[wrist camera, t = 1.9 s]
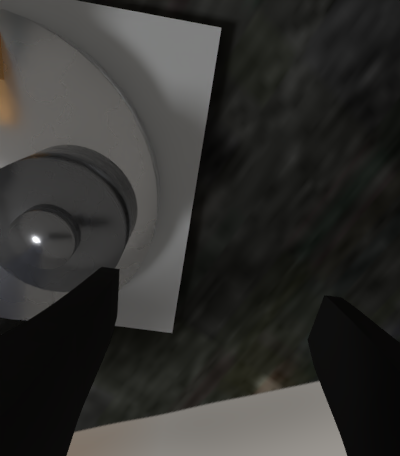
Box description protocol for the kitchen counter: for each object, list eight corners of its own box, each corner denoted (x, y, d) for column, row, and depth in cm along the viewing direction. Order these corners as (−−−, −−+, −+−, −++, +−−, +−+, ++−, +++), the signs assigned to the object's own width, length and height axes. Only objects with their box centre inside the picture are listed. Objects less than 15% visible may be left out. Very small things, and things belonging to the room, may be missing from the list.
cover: (133, 265, 20) (115, 313, 16) (20, 249, 19) (-29, 294, 15) (142, 156, 17) (123, 179, 13) (11, 134, 16) (-52, 152, 12)
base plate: (172, 325, 25) (172, 332, 24) (-124, 287, 23) (-134, 294, 23) (220, 30, 17) (221, 27, 16) (-231, -55, 15) (-253, -62, 15)
